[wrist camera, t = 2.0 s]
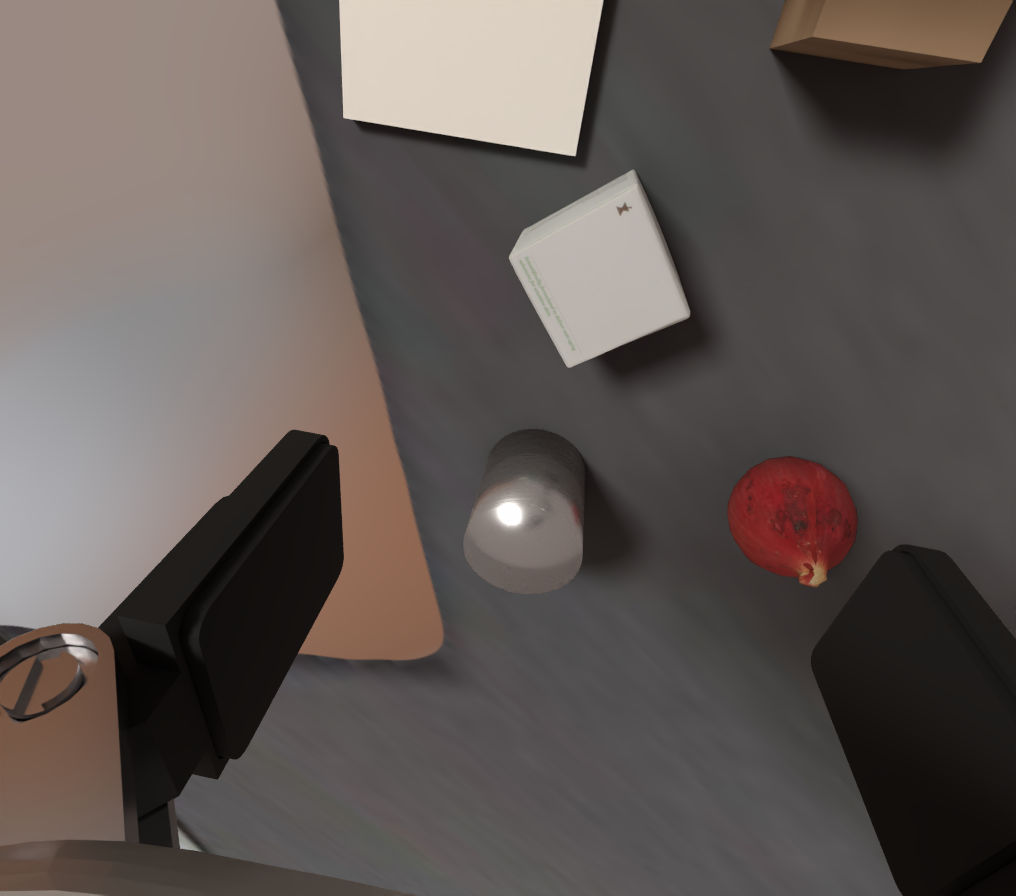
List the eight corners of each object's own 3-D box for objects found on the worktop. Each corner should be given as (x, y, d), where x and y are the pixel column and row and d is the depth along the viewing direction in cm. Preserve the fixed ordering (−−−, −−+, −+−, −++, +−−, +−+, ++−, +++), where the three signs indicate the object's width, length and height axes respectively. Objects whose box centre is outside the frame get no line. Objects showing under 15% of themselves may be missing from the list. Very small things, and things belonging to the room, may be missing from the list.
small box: (519, 229, 25) (504, 255, 21) (635, 164, 23) (643, 178, 19) (571, 333, 28) (567, 374, 23) (681, 282, 25) (697, 318, 21)
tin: (493, 420, 31) (468, 495, 25) (595, 439, 31) (594, 519, 25) (482, 499, 34) (458, 581, 29) (574, 517, 34) (569, 603, 28)
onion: (711, 439, 30) (743, 538, 23) (826, 420, 28) (896, 520, 21) (720, 518, 32) (751, 626, 26) (825, 505, 31) (887, 616, 24)
